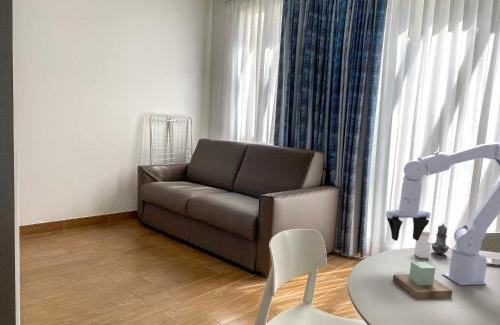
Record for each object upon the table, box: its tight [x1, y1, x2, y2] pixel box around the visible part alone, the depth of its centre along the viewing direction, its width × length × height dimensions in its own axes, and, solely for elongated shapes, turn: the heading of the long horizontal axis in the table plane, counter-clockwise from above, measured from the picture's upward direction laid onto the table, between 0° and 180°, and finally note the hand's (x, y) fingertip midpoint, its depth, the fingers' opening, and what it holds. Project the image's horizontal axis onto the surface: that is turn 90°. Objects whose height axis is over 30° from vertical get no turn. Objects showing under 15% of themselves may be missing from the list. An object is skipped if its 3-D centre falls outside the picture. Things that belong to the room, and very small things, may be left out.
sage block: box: [409, 261, 436, 285], centre depth 110 cm, size 4×4×5 cm
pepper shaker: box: [413, 229, 432, 259], centre depth 137 cm, size 4×4×10 cm
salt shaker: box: [430, 223, 450, 259], centre depth 139 cm, size 6×6×12 cm
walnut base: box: [392, 273, 453, 300], centre depth 110 cm, size 11×11×2 cm
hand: (405, 239), depth 124 cm, fingers open, 7 cm apart
